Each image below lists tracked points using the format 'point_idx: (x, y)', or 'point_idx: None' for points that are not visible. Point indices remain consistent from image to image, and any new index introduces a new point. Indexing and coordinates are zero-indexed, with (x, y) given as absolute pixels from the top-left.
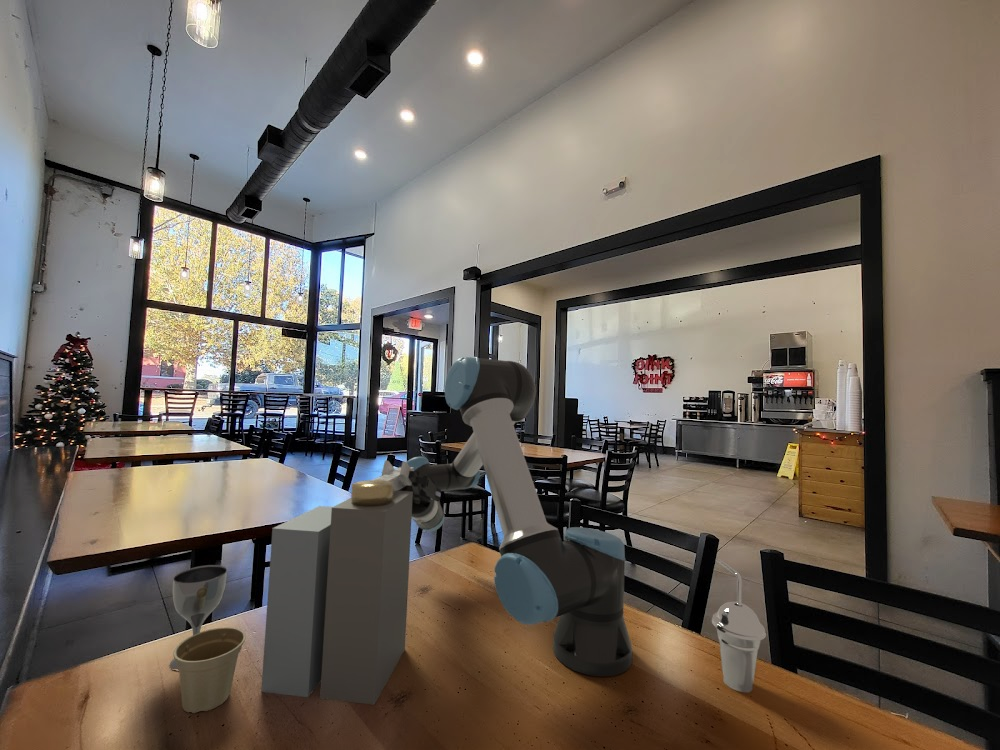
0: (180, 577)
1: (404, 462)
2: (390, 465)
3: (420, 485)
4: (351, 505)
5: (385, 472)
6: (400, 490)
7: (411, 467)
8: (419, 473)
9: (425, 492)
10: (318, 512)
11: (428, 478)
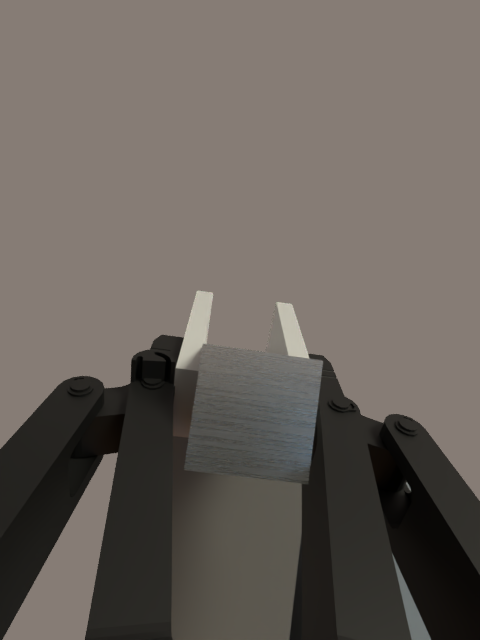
0: None
1: (203, 295)
2: (278, 324)
3: (107, 451)
4: None
5: (267, 348)
6: (304, 607)
7: (221, 346)
8: (134, 366)
9: (38, 570)
10: (408, 484)
11: (51, 399)
